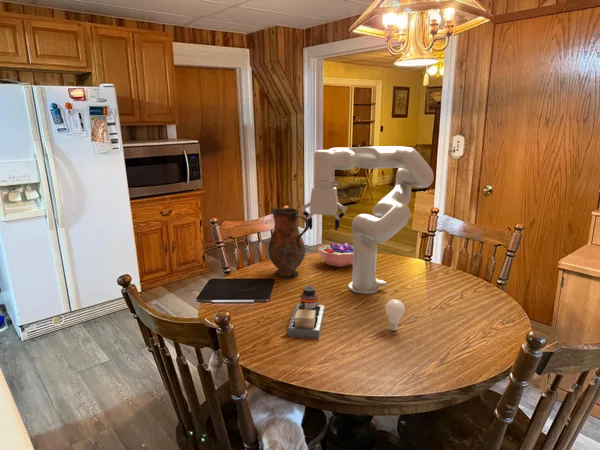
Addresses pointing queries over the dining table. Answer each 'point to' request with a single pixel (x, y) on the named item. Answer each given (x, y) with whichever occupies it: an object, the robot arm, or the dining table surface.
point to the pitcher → (287, 242)
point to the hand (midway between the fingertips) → (323, 229)
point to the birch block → (305, 318)
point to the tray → (306, 332)
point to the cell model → (337, 254)
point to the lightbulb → (394, 312)
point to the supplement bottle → (309, 299)
